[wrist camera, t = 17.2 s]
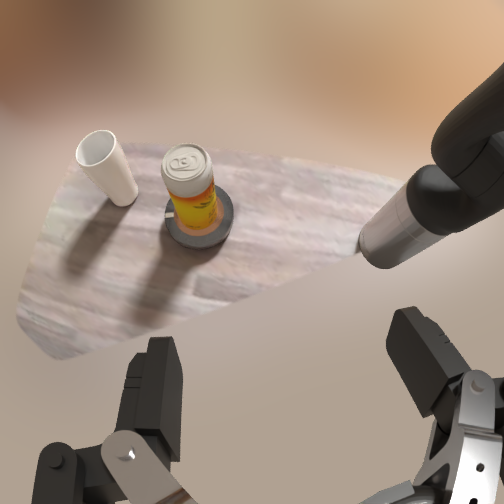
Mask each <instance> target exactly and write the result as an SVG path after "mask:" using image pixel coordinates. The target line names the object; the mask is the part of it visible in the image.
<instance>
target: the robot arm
mask: <svg viewBox="0 0 504 504" xmlns="http://www.w3.org/2000/svg"><path fill="white" fill-rule="evenodd" d="M431 154H432V157H433V159H434V161H435V163H436V164H437V165H426V166H423V167H422V168H420V169H419V170H418V171H416V173H415V174H414V175H413V176H412V177H411V178H410V179H409V180H408V181H407V182H406V183H405V184H404V185H403V186H402V187H401V189H400V190H399V191H398V192H397V193H396V194H395V195H394V196H393V197H392V198H391V199H390V200H389V201H388V202H387V203H386V204H385V205H384V206H383V207H382V208H381V209H380V210H379V211H378V212H377V213H376V214H375V215H374V216H373V217H372V219H371V220H370V221H369V222H368V223H367V224H366V225H365V226H364V227H363V228H362V230H361V233H360V236H359V244H360V249H361V252H362V254H363V256H364V257H365V258H366V259H367V261H368V262H369V263H370V264H372V265H373V266H375V267H377V268H380V269H390V268H392V267H395V266H397V265H399V264H400V263H402V262H404V261H406V260H408V259H409V258H411V257H413V256H414V255H416V254H418V253H420V252H421V251H423V250H425V249H426V248H428V247H430V246H431V245H433V244H435V243H436V242H438V241H440V240H441V239H443V238H444V237H446V236H448V235H449V234H451V233H457V232H461V231H463V230H465V229H467V228H469V227H470V226H472V225H474V224H476V223H478V222H480V221H482V220H484V219H486V218H488V217H489V216H491V215H493V214H495V213H497V212H499V211H500V210H502V209H504V63H503V64H502V65H501V66H500V67H499V68H498V69H497V70H496V71H495V72H494V73H493V74H492V75H491V76H490V77H489V78H487V80H485V81H484V82H483V83H482V84H481V85H480V86H478V88H476V89H475V90H474V91H473V92H472V93H471V94H469V95H468V96H467V97H466V98H465V99H464V100H463V101H462V102H460V103H459V104H458V105H457V106H456V107H455V108H454V109H453V110H452V111H451V112H450V113H449V114H448V115H447V116H446V118H445V119H444V120H443V121H442V123H441V124H440V126H439V127H438V129H437V131H436V133H435V135H434V137H433V140H432V145H431ZM386 349H387V352H388V355H389V356H390V358H391V360H392V362H393V364H394V365H395V367H396V369H397V371H398V372H399V374H400V376H401V378H402V380H403V382H404V383H405V385H406V387H407V389H408V391H409V393H410V394H411V396H412V398H413V400H414V402H415V404H416V406H417V408H418V410H419V412H420V413H421V415H422V417H423V418H425V417H428V416H430V415H432V414H434V416H435V420H434V422H433V425H432V430H431V434H430V439H429V443H428V447H427V451H426V455H425V459H424V462H423V465H422V467H421V469H420V471H419V472H418V474H417V475H416V477H415V479H414V482H413V485H412V484H411V482H410V480H408V481H406V482H403V483H401V484H398V485H396V486H393V487H391V488H387V489H385V490H382V491H379V492H378V493H376V494H374V495H373V496H371V497H370V498H368V499H366V500H364V501H363V502H361V503H359V504H494V502H495V497H496V491H497V486H498V479H499V475H500V477H501V480H502V482H503V485H504V377H503V378H494V379H492V378H491V377H490V376H489V375H488V374H487V373H485V372H483V371H480V370H471V369H470V367H469V366H468V364H467V363H466V361H465V360H464V359H463V357H462V356H461V354H460V353H459V352H458V350H457V349H456V348H455V346H454V345H453V344H452V343H450V340H449V338H448V337H447V336H446V335H445V333H444V332H443V330H442V329H441V328H440V327H439V325H438V324H437V323H435V322H434V321H432V320H431V319H429V318H428V317H424V316H423V314H422V313H421V312H420V311H419V309H417V307H415V306H412V307H407V308H403V309H398V310H396V311H395V313H394V316H393V320H392V323H391V326H390V329H389V333H388V336H387V339H386ZM182 389H183V373H182V367H181V363H180V360H179V357H178V354H177V350H176V347H175V343H174V340H173V338H172V336H171V337H151V338H150V339H149V343H148V348H147V353H137V354H136V355H135V356H134V358H133V359H132V360H131V362H130V363H129V366H128V370H127V374H126V379H125V383H124V390H123V393H122V397H121V403H120V407H119V413H118V418H117V423H116V428H115V430H114V432H113V433H112V434H111V435H109V436H108V437H107V438H106V439H105V440H104V442H103V443H102V444H100V445H97V446H93V447H88V448H82V449H76V450H73V449H72V448H71V447H70V446H69V445H67V444H65V443H61V442H54V443H51V444H49V445H47V446H46V447H45V448H44V449H43V450H42V451H41V453H40V456H39V460H38V465H37V470H36V476H35V482H34V489H33V495H32V503H31V504H115V502H117V501H122V500H129V501H130V503H131V504H198V503H197V502H196V501H195V500H194V499H193V498H192V497H191V496H190V495H189V494H188V493H187V492H186V491H185V489H183V487H182V486H181V485H180V484H179V483H178V482H177V480H176V479H175V478H174V477H173V476H172V475H171V474H170V462H180V435H181V408H182Z"/></svg>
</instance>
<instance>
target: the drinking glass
mask: <svg viewBox="0 0 504 504" xmlns="http://www.w3.org/2000/svg"><path fill="white" fill-rule="evenodd" d="M75 158H76V161H77V163H78V164H79V166H80V167H81V169H82V170H83V172H84V173H85V174H86V175H87V177H88V178H89V179H90V180H91V181H92V182H93V183H94V184H95V185H96V186H97V187H98V188H100V189H101V190H102V191H103V192H104V193H105V194H106V195H107V196H108V197H109V198H110V199H111V200H112V202H113V203H114V204H115V205H117V206H127V205H130V204H131V203H132V202H133V201H134V200H135V199H136V197H137V195H138V187H137V184H136V183H135V181H134V178H133V176H132V173H131V171H130V168H129V165H128V163H127V160H126V157H125V154H124V152H123V150H122V148H121V146H120V144H119V142H118V140H117V139H116V137H115V135H114V134H113V133H112V132H110V131H108V130H98V131H95V132H93V133H91V134H89V135H87V136H86V137H85V138H84V139H83V140H82V141H81V142H80V144H79V145H78V147H77V150H76V154H75Z"/></svg>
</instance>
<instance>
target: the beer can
mask: <svg viewBox="0 0 504 504" xmlns="http://www.w3.org/2000/svg"><path fill="white" fill-rule="evenodd" d="M161 175H162V178H163V180H164V182H165V185H166V187H167V190H168V192H169V195H170V197H171V199H172V202H173V204H174V207H175V209H176V211H177V214H178V216H179V218H180V221H181V222H182V224H183V225H184V226H186V227H187V228H189V229H192V230H202V229H205V228H207V227H209V226H210V225H211V224H212V223H213V222H214V221H215V219H216V217H217V213H218V210H217V202H216V194H215V186H214V178H213V169H212V162H211V158H210V156H209V155H208V153H207V152H206V151H205V150H204V149H203V148H202V147H200V146H199V145H196V144H193V143H183V144H179V145H176V146H174V147H173V148H171V149H170V150H169V151H168V152H167V153H166V154H165V156H164V158H163V162H162V165H161Z"/></svg>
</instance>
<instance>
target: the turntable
mask: <svg viewBox="0 0 504 504" xmlns="http://www.w3.org/2000/svg"><path fill="white" fill-rule="evenodd" d="M214 186H215V194H216V202H217V210H218V213H217V217H216V219H215V221H214V222H213V223H212V224H211V225H210V226H209V227H207V228H205V229H202V230H192V229H189V228H187V227H186V226H184V225H183V224H182V222H181V221H180V218H179V216H178V214H177V211H176V209H175V207H174V204H173V202H172V199H171V198H170V200H169V201H168V203H167V206H166V210H165V222H166V225H167V228H168V230H169V232H170V233H171V235H172V237H173V238H174V239H175V240H176V241H177V242H178V243H179V244H181V245H183V246H184V247H187V248H190V249H197V250H198V249H207V248H211V247H213V246H215V245H217V244H219V243H220V242H221V241H223V240H224V239H225V238H226V236H227V235H228V234H229V232H230V230H231V228H232V225H233V219H234V216H233V205H232V202H231V199H230V197H229V196H228V195H227V193H226V192H225V191H224V190H223V189H221V188H220V187H218V186H216V185H214Z"/></svg>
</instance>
